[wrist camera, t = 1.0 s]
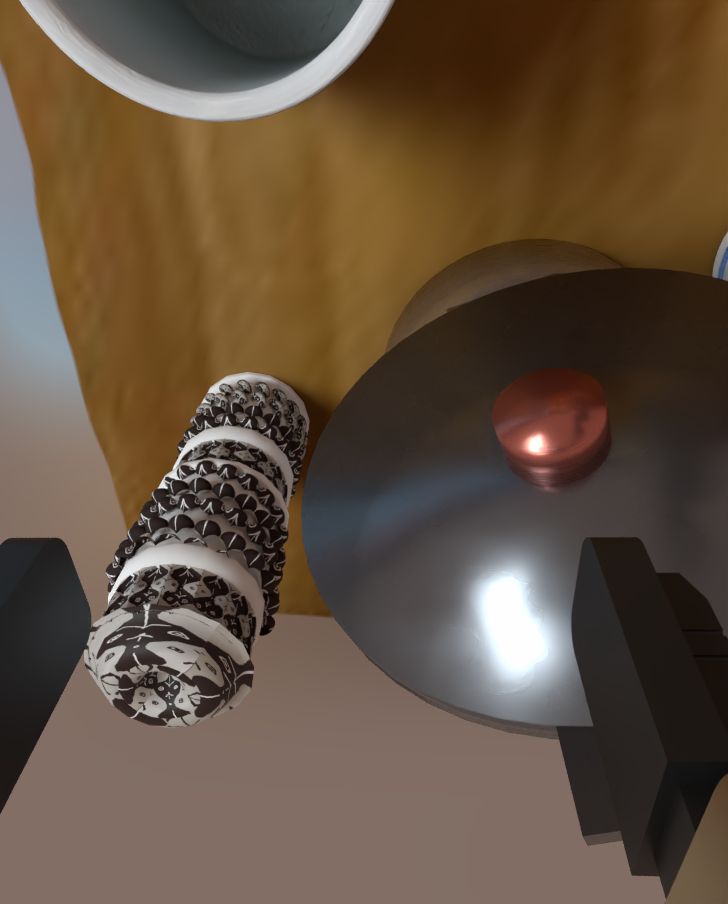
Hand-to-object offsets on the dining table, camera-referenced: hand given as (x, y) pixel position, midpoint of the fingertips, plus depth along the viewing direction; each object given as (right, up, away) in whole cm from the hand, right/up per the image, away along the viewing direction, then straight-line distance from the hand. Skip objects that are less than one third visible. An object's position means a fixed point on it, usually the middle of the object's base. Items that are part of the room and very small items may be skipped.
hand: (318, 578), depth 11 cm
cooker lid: (+8, +1, +15) cm, 17 cm away
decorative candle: (-8, +4, +42) cm, 43 cm away
